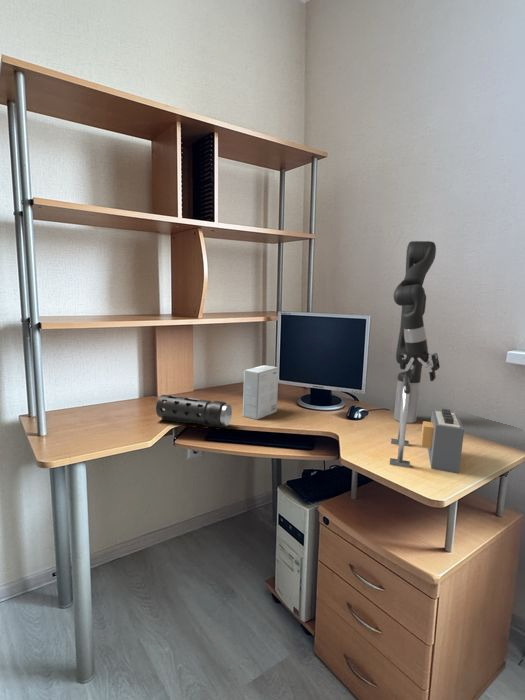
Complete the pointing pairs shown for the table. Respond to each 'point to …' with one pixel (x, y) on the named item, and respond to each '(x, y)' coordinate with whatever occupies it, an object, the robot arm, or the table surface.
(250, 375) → the hard drive box
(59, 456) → the table surface
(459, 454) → the box
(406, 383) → the cord gate
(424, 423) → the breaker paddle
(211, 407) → the muzzle brake
